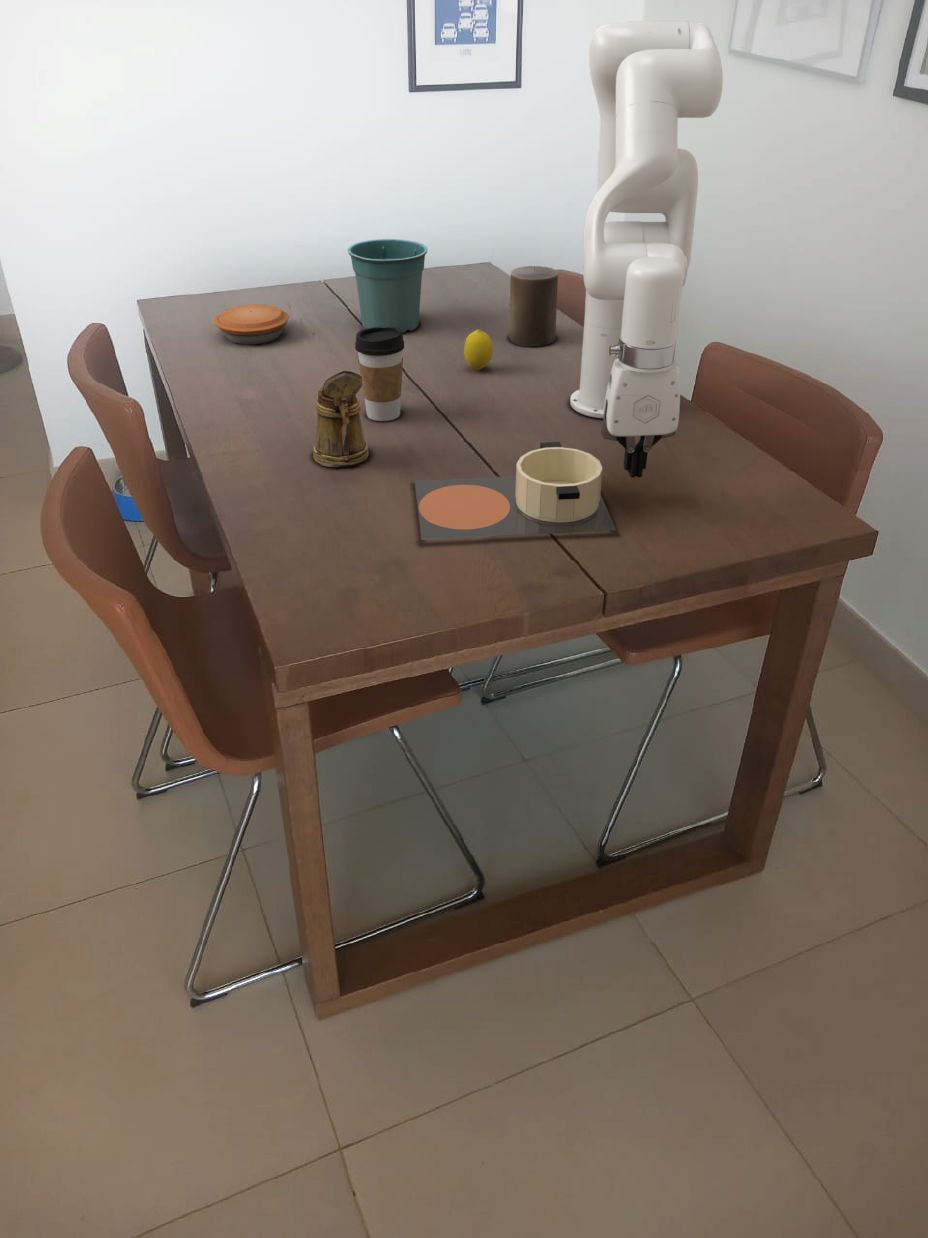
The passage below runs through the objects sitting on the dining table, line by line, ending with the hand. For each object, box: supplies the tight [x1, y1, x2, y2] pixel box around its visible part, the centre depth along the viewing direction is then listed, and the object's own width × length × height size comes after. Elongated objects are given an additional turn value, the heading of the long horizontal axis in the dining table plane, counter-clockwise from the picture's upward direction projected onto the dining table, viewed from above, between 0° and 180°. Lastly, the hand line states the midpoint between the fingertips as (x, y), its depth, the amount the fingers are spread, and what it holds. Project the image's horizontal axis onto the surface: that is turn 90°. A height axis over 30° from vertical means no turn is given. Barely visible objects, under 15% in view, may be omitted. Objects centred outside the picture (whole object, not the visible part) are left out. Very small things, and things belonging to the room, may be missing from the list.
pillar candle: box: [508, 265, 559, 347], centre depth 203 cm, size 10×10×15 cm
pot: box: [515, 441, 604, 523], centre depth 148 cm, size 12×16×6 cm
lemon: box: [463, 329, 494, 371], centre depth 192 cm, size 6×6×8 cm
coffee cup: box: [354, 327, 405, 422], centre depth 173 cm, size 8×8×15 cm
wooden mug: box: [312, 370, 370, 469], centre depth 157 cm, size 9×14×18 cm, turn 17°
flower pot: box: [347, 238, 428, 334], centre depth 210 cm, size 16×16×16 cm
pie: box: [213, 303, 290, 345], centre depth 208 cm, size 15×16×5 cm
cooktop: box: [414, 475, 617, 541], centre depth 149 cm, size 28×18×1 cm, turn 95°
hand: (633, 473), depth 148 cm, fingers closed
